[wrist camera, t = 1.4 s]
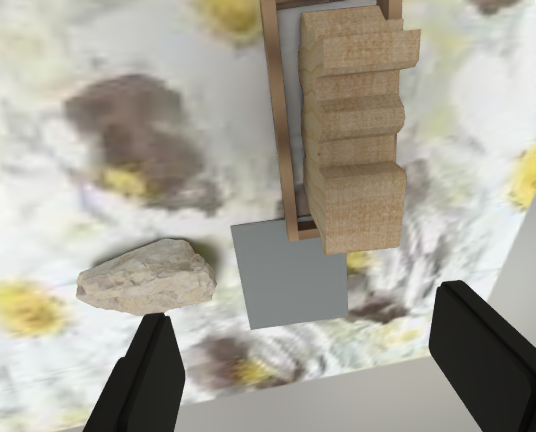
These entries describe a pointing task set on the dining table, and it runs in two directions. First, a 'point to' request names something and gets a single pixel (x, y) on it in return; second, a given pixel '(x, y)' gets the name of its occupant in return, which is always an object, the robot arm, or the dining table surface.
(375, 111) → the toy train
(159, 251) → the stone
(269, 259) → the slate mat
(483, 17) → the dining table surface
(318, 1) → the pocket frame
